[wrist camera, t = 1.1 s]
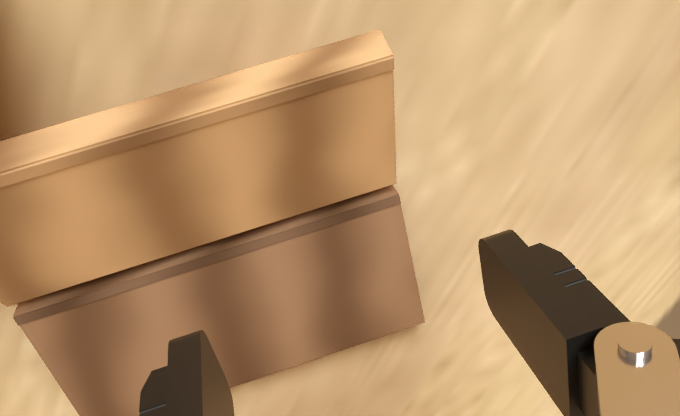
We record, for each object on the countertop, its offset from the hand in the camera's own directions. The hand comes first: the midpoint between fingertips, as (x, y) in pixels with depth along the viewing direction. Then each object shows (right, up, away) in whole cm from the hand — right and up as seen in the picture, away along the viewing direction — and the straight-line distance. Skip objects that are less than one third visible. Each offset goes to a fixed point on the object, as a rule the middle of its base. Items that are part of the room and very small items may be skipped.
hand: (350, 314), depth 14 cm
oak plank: (-8, +4, +13) cm, 16 cm away
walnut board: (-6, -3, +21) cm, 22 cm away
